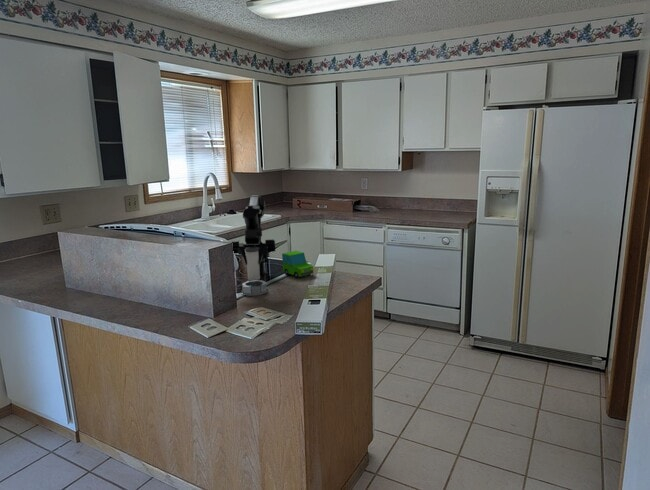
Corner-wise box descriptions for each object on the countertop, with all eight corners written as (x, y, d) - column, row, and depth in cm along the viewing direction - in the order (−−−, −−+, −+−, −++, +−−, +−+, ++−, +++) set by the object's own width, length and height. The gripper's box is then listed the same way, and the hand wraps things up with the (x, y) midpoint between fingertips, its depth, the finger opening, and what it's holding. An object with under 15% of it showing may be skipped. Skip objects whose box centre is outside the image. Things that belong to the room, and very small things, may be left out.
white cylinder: (255, 275, 189) (253, 245, 186) (263, 278, 185) (261, 247, 182) (244, 278, 185) (242, 248, 182) (252, 281, 181) (250, 250, 178)
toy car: (298, 280, 201) (297, 258, 199) (281, 274, 211) (280, 254, 209) (316, 275, 208) (315, 254, 206) (298, 270, 217) (297, 250, 215)
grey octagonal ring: (251, 286, 193) (251, 278, 193) (273, 289, 188) (272, 281, 188) (235, 294, 184) (235, 285, 183) (257, 297, 179) (257, 288, 178)
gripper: (227, 222, 183) (226, 255, 175) (273, 220, 184) (274, 252, 176) (231, 237, 192) (230, 269, 184) (274, 235, 194) (276, 266, 186)
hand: (252, 264), depth 182 cm, fingers closed on white cylinder, 5 cm apart
